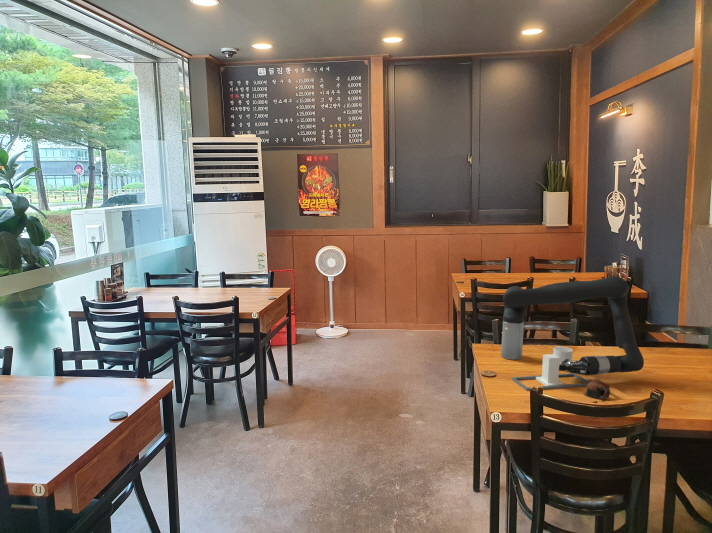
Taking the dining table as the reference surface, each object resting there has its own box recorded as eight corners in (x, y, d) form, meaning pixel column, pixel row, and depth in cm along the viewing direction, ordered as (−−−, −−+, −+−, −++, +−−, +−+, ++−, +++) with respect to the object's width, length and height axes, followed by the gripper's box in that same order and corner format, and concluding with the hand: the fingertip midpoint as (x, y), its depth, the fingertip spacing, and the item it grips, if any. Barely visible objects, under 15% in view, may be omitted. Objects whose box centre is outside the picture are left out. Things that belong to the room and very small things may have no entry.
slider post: (535, 379, 215) (537, 353, 214) (551, 378, 217) (553, 352, 215) (547, 387, 207) (549, 360, 205) (564, 386, 208) (565, 359, 206)
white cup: (568, 368, 233) (569, 346, 231) (573, 374, 225) (575, 352, 224) (549, 367, 234) (551, 346, 232) (554, 374, 226) (555, 351, 224)
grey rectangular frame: (511, 383, 215) (511, 377, 215) (573, 378, 221) (574, 373, 220) (526, 394, 204) (526, 388, 203) (591, 389, 209) (592, 383, 209)
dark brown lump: (575, 396, 203) (582, 376, 204) (595, 406, 204) (602, 386, 206) (596, 401, 191) (603, 379, 193) (618, 411, 193) (624, 389, 194)
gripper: (585, 351, 220) (547, 353, 217) (605, 361, 208) (565, 364, 204) (583, 368, 222) (546, 371, 218) (604, 380, 209) (564, 382, 205)
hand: (555, 367), depth 211 cm, fingers closed
